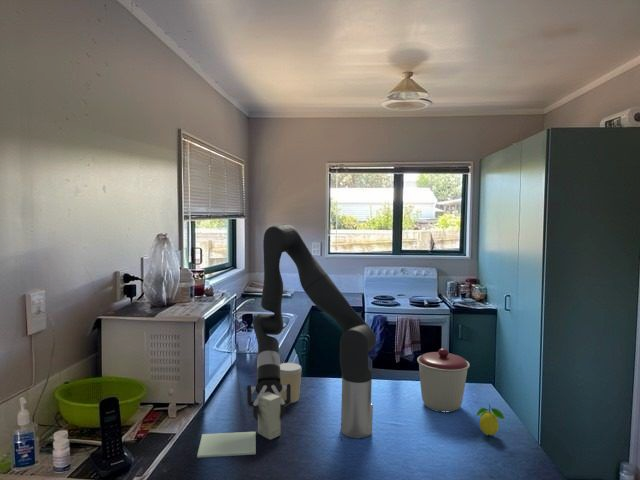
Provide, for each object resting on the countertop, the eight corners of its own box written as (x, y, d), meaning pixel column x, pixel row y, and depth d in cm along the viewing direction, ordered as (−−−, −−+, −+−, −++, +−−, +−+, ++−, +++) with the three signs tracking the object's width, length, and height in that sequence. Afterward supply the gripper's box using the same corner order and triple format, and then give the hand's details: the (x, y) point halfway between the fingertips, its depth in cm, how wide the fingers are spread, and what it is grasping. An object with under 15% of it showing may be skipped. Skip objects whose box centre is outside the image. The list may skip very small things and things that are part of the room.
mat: (255, 433, 136) (255, 431, 136) (255, 454, 124) (255, 452, 124) (202, 436, 134) (202, 434, 134) (197, 457, 122) (197, 455, 122)
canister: (405, 404, 159) (407, 347, 158) (434, 392, 171) (436, 338, 170) (449, 423, 146) (451, 360, 145) (477, 408, 158) (480, 350, 156)
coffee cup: (297, 392, 168) (297, 361, 168) (304, 402, 160) (304, 369, 159) (273, 395, 165) (273, 363, 165) (279, 405, 157) (279, 372, 156)
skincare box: (281, 435, 135) (281, 396, 134) (269, 440, 132) (270, 400, 131) (267, 428, 139) (268, 390, 139) (256, 433, 136) (257, 394, 135)
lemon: (503, 440, 135) (505, 408, 134) (486, 441, 134) (487, 409, 133) (491, 430, 141) (493, 399, 141) (474, 431, 140) (476, 400, 140)
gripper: (246, 363, 141) (245, 415, 130) (291, 362, 143) (293, 413, 132) (246, 373, 146) (245, 425, 135) (289, 372, 149) (292, 422, 138)
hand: (269, 419), depth 134 cm, fingers closed on skincare box, 7 cm apart
